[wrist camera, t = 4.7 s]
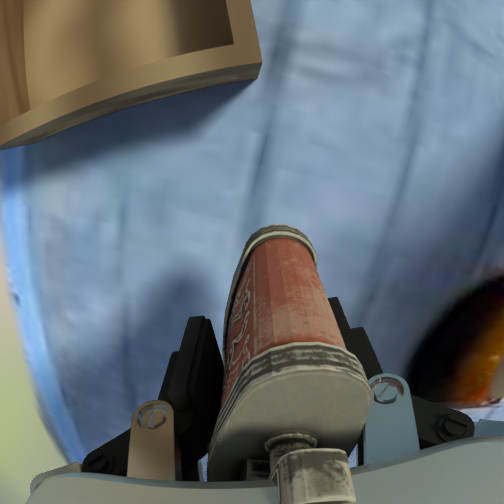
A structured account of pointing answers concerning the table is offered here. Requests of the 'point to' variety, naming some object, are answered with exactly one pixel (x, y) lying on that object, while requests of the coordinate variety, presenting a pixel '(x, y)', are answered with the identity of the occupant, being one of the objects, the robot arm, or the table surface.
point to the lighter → (286, 378)
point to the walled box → (113, 57)
